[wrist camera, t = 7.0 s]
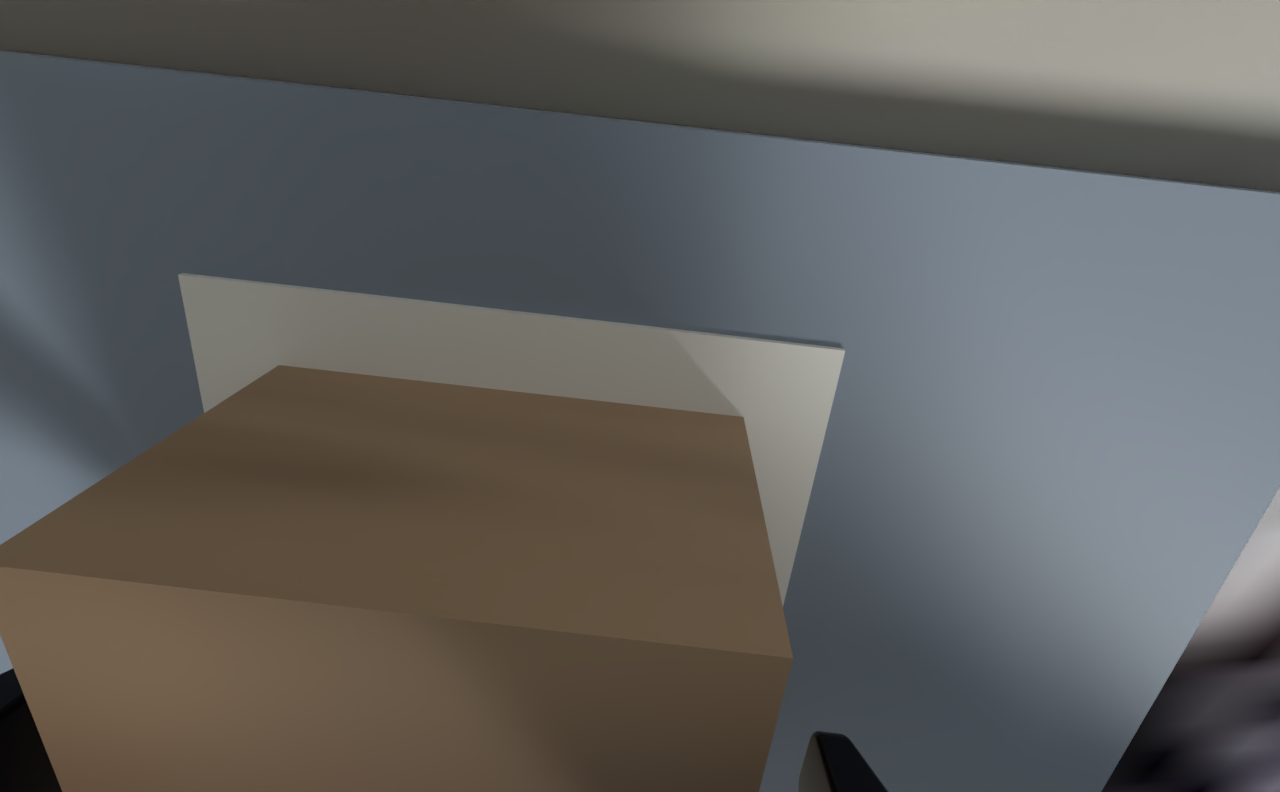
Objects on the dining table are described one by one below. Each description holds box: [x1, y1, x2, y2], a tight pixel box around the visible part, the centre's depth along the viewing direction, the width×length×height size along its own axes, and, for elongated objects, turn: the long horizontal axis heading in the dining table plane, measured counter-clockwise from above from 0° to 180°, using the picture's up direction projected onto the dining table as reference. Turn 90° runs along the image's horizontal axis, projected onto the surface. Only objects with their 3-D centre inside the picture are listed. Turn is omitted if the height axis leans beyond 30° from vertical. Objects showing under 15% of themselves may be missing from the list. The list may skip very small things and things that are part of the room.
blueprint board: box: [0, 50, 1280, 792], centre depth 11 cm, size 14×22×1 cm, turn 84°
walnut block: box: [0, 365, 793, 792], centre depth 9 cm, size 7×7×4 cm
